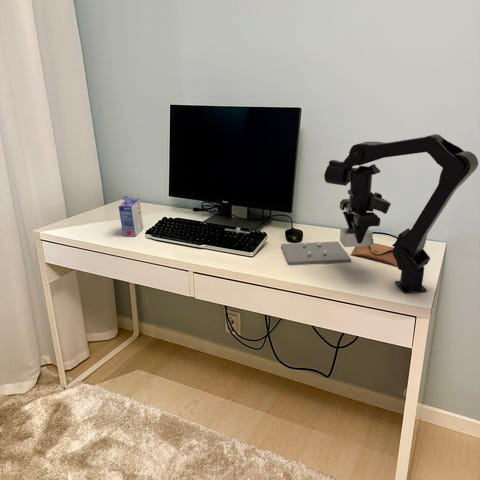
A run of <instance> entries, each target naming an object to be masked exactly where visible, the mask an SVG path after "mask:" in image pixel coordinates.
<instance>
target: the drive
mask: <svg viewBox="0 0 480 480" xmlns="http://www.w3.org/2000/svg"><path fill="white" fill-rule="evenodd" d="M339 234H340V235H339V243H340V244H341V246H342V247H344V248H355V247H358V246H372V243H374V238H373V237H374V232H373V231H372V230H370V229H369V228H368V229H367V231H366V234H365V236H364V239H363V241H362V243H357V240H356V236H355V233H354V229H353V228H349V227H345V228H342V227H341V228H340V233H339Z"/></svg>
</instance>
